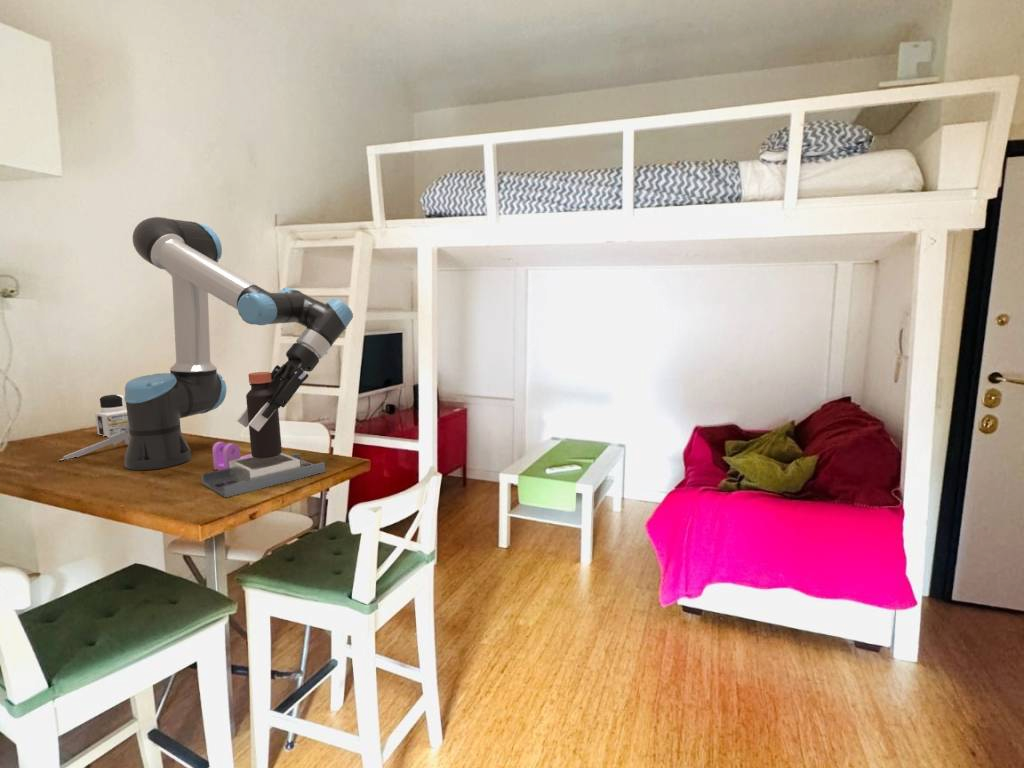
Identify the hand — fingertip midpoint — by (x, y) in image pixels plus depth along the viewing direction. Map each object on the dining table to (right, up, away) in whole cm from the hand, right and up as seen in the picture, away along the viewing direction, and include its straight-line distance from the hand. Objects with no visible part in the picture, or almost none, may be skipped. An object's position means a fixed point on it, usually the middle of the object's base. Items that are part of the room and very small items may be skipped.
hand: (247, 425), depth 132 cm
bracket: (-9, -12, +17) cm, 23 cm away
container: (-68, -7, +52) cm, 86 cm away
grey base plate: (+2, -13, +5) cm, 14 cm away
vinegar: (+3, -8, +4) cm, 9 cm away
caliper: (-57, -10, +30) cm, 65 cm away
